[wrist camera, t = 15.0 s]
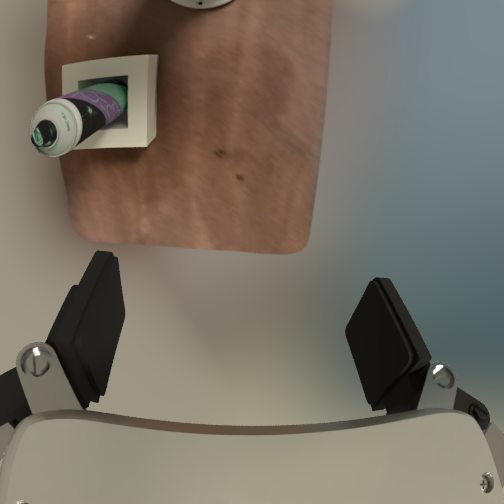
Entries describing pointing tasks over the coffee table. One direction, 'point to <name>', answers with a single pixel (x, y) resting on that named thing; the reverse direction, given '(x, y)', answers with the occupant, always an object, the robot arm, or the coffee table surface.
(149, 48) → the coffee table surface
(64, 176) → the coffee table surface
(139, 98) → the can holder
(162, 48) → the coffee table surface
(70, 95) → the spray can
